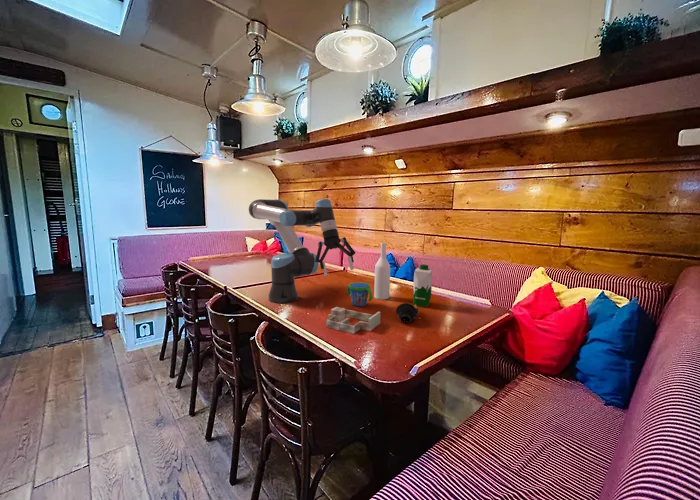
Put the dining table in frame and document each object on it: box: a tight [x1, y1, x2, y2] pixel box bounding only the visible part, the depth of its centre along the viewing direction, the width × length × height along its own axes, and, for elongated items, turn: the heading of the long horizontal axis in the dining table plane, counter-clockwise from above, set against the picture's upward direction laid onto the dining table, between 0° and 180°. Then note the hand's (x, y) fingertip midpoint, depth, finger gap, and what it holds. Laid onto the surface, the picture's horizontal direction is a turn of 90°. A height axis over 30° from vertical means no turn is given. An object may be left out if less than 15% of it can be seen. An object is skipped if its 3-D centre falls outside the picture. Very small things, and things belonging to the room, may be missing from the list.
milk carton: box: [412, 264, 433, 308], centre depth 155 cm, size 9×9×20 cm
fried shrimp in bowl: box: [395, 302, 420, 324], centre depth 137 cm, size 9×11×18 cm
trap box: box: [325, 308, 381, 335], centre depth 129 cm, size 20×16×5 cm
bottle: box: [373, 241, 391, 301], centre depth 165 cm, size 8×8×30 cm
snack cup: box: [346, 282, 373, 307], centre depth 154 cm, size 16×10×10 cm
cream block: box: [330, 306, 346, 322], centre depth 135 cm, size 4×4×4 cm
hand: (339, 272), depth 149 cm, fingers open, 13 cm apart
